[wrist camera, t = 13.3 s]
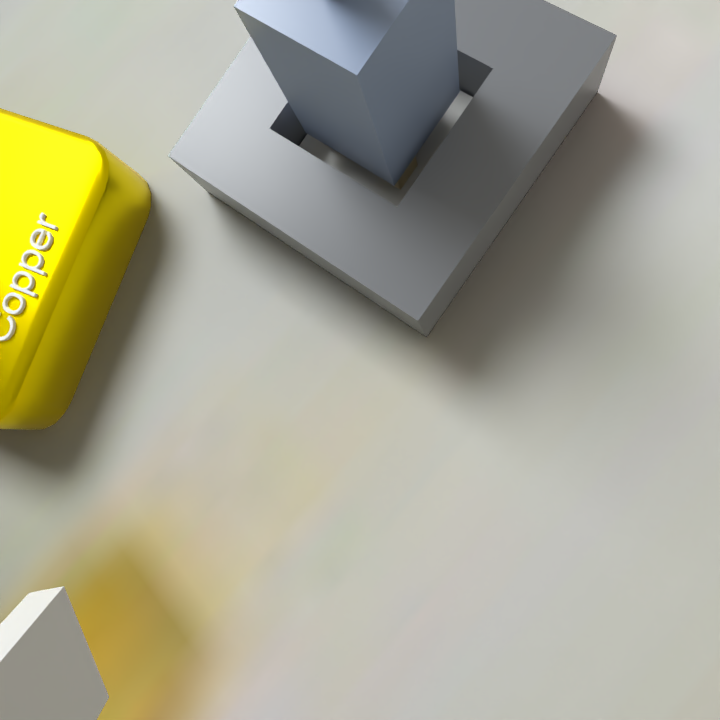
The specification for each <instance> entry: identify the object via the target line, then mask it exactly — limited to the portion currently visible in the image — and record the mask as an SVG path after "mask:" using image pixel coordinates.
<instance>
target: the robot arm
mask: <svg viewBox="0 0 720 720" xmlns="http://www.w3.org/2000/svg"><path fill="white" fill-rule="evenodd" d="M108 698H109V696H108V693H107V691H106V688H105V686H104V683H103V681H102V678H101V676H100V674H99V671H98V669H97V666H96V664H95V661H94V659H93V656H92V654H91V651H90V649H89V647H88V644H87V642H86V639H85V637H84V634H83V632H82V629H81V627H80V625H79V622H78V620H77V617H76V615H75V612H74V610H73V607H72V605H71V603H70V600H69V598H68V595H67V593H66V590H65V588H64V586H63V587H57V588H52V589H47V590H42V591H37V592H32V593H29V594H28V595H27V596H26V597H25V598H24V599H23V600H22V601H21V602H20V603H19V604H18V606H17V607H16V608H15V609H14V610H13V611H12V612H11V613H10V614H9V615H8V616H7V618H6V619H5V620H4V621H3V622H2V623H1V624H0V720H97V718H98V716H99V714H100V712H101V711H102V709H103V707H104V705H105V703H106V702H107V700H108Z"/></svg>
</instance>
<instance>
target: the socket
mask: <svg viewBox="0 0 720 720" xmlns="http://www.w3.org/2000/svg"><path fill="white" fill-rule="evenodd" d="M455 18H456V36H457V54H458V71H459V89H460V92H459V94H458V95H457V96H456V98H455V99H454V101H453V102H452V104H451V105H450V106H449V108H448V109H447V111H446V112H445V114H444V115H443V117H442V118H441V119H440V121H439V122H438V124H437V125H436V127H435V128H434V130H433V131H432V132H431V134H430V135H429V137H428V138H427V140H426V141H425V143H424V144H423V145H422V147H421V148H420V150H419V151H418V153H417V154H416V155H415V156H416V160H417V167H416V168H415V170H414V171H413V173H412V174H411V176H410V177H409V178H408V180H407V181H406V183H405V184H404V186H403V187H402V188H401V190H400V189H398V188H397V187H395V186H393V185H392V184H390V183H388V182H387V181H385V180H383V179H382V178H380V177H378V176H377V175H375V174H373V173H372V172H370V171H368V170H367V169H365V168H364V167H362V166H360V165H359V164H357V163H355V162H354V161H352V160H350V159H349V158H347V157H345V156H343V155H342V154H340V153H338V152H337V151H335V150H334V149H332V148H330V147H329V146H327V145H325V144H324V143H322V142H320V141H319V140H317V139H315V138H314V137H312V136H310V135H309V134H307V133H306V132H305V131H304V129H303V127H302V125H301V124H300V122H299V120H298V118H297V117H296V115H295V113H294V111H293V110H292V108H291V106H290V104H289V103H288V101H287V99H286V97H285V96H284V94H283V92H282V90H281V89H280V87H279V85H278V83H277V81H276V80H275V78H274V76H273V74H272V73H271V71H270V69H269V67H268V66H267V64H266V62H265V60H264V59H263V57H262V55H261V53H260V52H259V50H258V48H257V46H256V45H255V43H254V41H253V39H252V38H251V36H250V37H249V39H248V40H247V42H246V43H245V45H244V46H243V47H242V49H241V50H240V52H239V53H238V55H237V56H236V58H235V59H234V61H233V62H232V63H231V65H230V66H229V68H228V69H227V71H226V72H225V74H224V75H223V76H222V78H221V79H220V81H219V82H218V84H217V85H216V87H215V88H214V89H213V91H212V92H211V94H210V95H209V97H208V98H207V100H206V101H205V103H204V104H203V105H202V107H201V108H200V110H199V111H198V113H197V114H196V116H195V117H194V118H193V120H192V121H191V123H190V124H189V126H188V127H187V129H186V130H185V132H184V133H183V134H182V136H181V137H180V139H179V140H178V142H177V143H176V145H175V146H174V147H173V149H172V150H171V152H170V153H169V155H168V156H169V157H170V158H171V159H172V160H173V161H174V162H175V163H176V164H178V165H179V166H180V167H181V168H182V169H183V170H184V171H185V172H186V173H188V174H189V175H190V176H191V177H192V178H193V179H194V180H195V181H196V182H197V183H199V184H200V185H201V186H202V187H203V188H204V189H205V190H206V191H208V192H209V193H211V194H212V195H214V196H215V197H217V198H218V199H220V200H221V201H223V202H224V203H226V204H227V205H229V206H230V207H232V208H233V209H235V210H236V211H238V212H239V213H241V214H242V215H244V216H245V217H247V218H248V219H250V220H251V221H253V222H254V223H256V224H257V225H259V226H260V227H262V228H263V229H265V230H266V231H268V232H269V233H271V234H272V235H274V236H275V237H277V238H278V239H280V240H281V241H283V242H284V243H286V244H287V245H289V246H290V247H292V248H293V249H295V250H296V251H298V252H299V253H301V254H302V255H304V256H305V257H307V258H308V259H310V260H311V261H313V262H314V263H316V264H317V265H319V266H320V267H322V268H323V269H325V270H326V271H328V272H329V273H331V274H332V275H334V276H335V277H337V278H338V279H340V280H341V281H343V282H344V283H346V284H347V285H349V286H350V287H352V288H353V289H355V290H356V291H358V292H359V293H361V294H362V295H364V296H365V297H367V298H368V299H370V300H371V301H373V302H374V303H376V304H377V305H379V306H381V307H382V308H384V309H385V310H387V311H388V312H390V313H391V314H393V315H394V316H396V317H397V318H399V319H400V320H402V321H403V322H405V323H406V324H408V325H409V326H411V327H412V328H414V329H415V330H417V331H418V332H420V333H421V334H423V335H424V336H426V337H427V336H428V334H429V333H430V331H431V330H432V329H433V327H434V326H435V324H436V323H437V321H438V320H439V318H440V317H441V316H442V314H443V313H444V311H445V310H446V308H447V307H448V306H449V304H450V303H451V301H452V300H453V298H454V297H455V295H456V294H457V293H458V291H459V290H460V288H461V287H462V285H463V284H464V283H465V281H466V280H467V278H468V277H469V275H470V274H471V272H472V271H473V270H474V268H475V267H476V265H477V264H478V262H479V261H480V260H481V258H482V257H483V255H484V254H485V252H486V251H487V250H488V248H489V247H490V245H491V244H492V242H493V241H494V239H495V238H496V237H497V235H498V234H499V232H500V231H501V229H502V228H503V227H504V225H505V224H506V222H507V221H508V219H509V218H510V216H511V215H512V214H513V212H514V211H515V209H516V208H517V206H518V205H519V204H520V202H521V201H522V199H523V198H524V196H525V195H526V194H527V192H528V191H529V189H530V188H531V186H532V185H533V183H534V182H535V181H536V179H537V178H538V176H539V175H540V173H541V172H542V171H543V169H544V168H545V166H546V165H547V163H548V162H549V160H550V159H551V158H552V156H553V155H554V153H555V152H556V150H557V149H558V148H559V146H560V145H561V143H562V142H563V140H564V139H565V137H566V136H567V135H568V133H569V132H570V130H571V129H572V127H573V126H574V125H575V123H576V122H577V120H578V119H579V117H580V116H581V115H582V113H583V112H584V110H585V109H586V107H587V106H588V104H589V103H590V102H591V100H592V99H593V97H594V96H595V94H596V93H597V92H598V89H599V86H600V83H601V80H602V77H603V74H604V71H605V68H606V65H607V63H608V60H609V57H610V54H611V51H612V48H613V45H614V42H615V39H616V36H617V35H615V34H613V33H611V32H609V31H607V30H605V29H603V28H600V27H598V26H596V25H594V24H592V23H590V22H588V21H586V20H584V19H582V18H580V17H578V16H575V15H573V14H571V13H569V12H567V11H565V10H563V9H561V8H559V7H557V6H555V5H553V4H550V3H548V2H546V1H544V0H455Z"/></svg>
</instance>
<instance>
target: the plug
mask: <svg viewBox="0 0 720 720" xmlns="http://www.w3.org/2000/svg"><path fill="white" fill-rule="evenodd" d="M234 8H235V9H236V11H237V13H238V15H239V16H240V18H241V20H242V22H243V23H244V25H245V27H246V29H247V31H248V32H249V34H250V36H251V38H252V39H253V41H254V43H255V45H256V46H257V48H258V50H259V52H260V53H261V55H262V57H263V59H264V60H265V62H266V64H267V66H268V67H269V69H270V71H271V73H272V74H273V76H274V78H275V80H276V81H277V83H278V85H279V87H280V89H281V90H282V92H283V94H284V96H285V97H286V99H287V101H288V103H289V104H290V106H291V108H292V110H293V111H294V113H295V115H296V117H297V118H298V120H299V122H300V124H301V125H302V127H303V129H304V131H305V132H306V133H307V134H309V135H310V136H312V137H314V138H315V139H317V140H319V141H320V142H322V143H324V144H325V145H327V146H329V147H330V148H332V149H334V150H335V151H337V152H338V153H340V154H342V155H343V156H345V157H347V158H349V159H350V160H352V161H354V162H355V163H357V164H359V165H360V166H362V167H364V168H365V169H367V170H368V171H370V172H372V173H373V174H375V175H377V176H378V177H380V178H382V179H383V180H385V181H387V182H388V183H390V184H392V185H393V186H395V187H397V188H398V189H400V190H401V188H402V187H403V186H404V184H405V183H406V181H407V180H408V178H409V177H410V176H411V174H412V173H413V171H414V170H415V168H416V167H417V160H416V156H415V155H416V154H417V153H418V151H419V150H420V148H421V147H422V145H423V144H424V143H425V141H426V140H427V138H428V137H429V135H430V134H431V132H432V131H433V130H434V128H435V127H436V125H437V124H438V122H439V121H440V119H441V118H442V117H443V115H444V114H445V112H446V111H447V109H448V108H449V106H450V105H451V104H452V102H453V101H454V99H455V98H456V96H457V95H458V94H459V92H460V89H459V71H458V54H457V36H456V18H455V0H238V1H237V2H236V4H235V5H234Z"/></svg>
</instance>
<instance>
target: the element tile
mask: <svg viewBox="0 0 720 720" xmlns="http://www.w3.org/2000/svg"><path fill="white" fill-rule="evenodd" d="M150 208H151V192H150V189H149V186H148V184H147V182H146V181H145V180H144V179H143V178H142V177H141V176H140V175H139V174H138V173H137V172H136V171H134V170H133V169H132V168H130V167H129V166H128V165H127V164H125V163H124V162H123V161H121V160H120V159H119V158H118V157H116V156H115V155H114V154H112V153H111V152H110V151H109V150H107V149H106V148H105V147H103V146H102V145H101V144H100V143H98V142H97V141H95V140H93V139H91V138H90V137H87V136H84V135H81V134H78V133H75V132H71V131H68V130H65V129H62V128H59V127H56V126H53V125H50V124H47V123H44V122H41V121H38V120H35V119H31V118H28V117H25V116H22V115H19V114H16V113H13V112H10V111H7V110H4V109H1V108H0V429H28V430H32V429H45V428H47V427H49V426H51V425H53V424H55V423H56V422H57V421H58V420H59V419H60V418H61V417H62V416H63V414H64V413H65V412H66V410H67V408H68V406H69V405H70V403H71V401H72V398H73V396H74V393H75V391H76V389H77V386H78V384H79V381H80V379H81V377H82V374H83V372H84V369H85V367H86V365H87V362H88V360H89V358H90V355H91V353H92V350H93V348H94V346H95V343H96V341H97V338H98V336H99V334H100V331H101V329H102V326H103V324H104V322H105V319H106V317H107V314H108V312H109V310H110V307H111V305H112V302H113V300H114V298H115V295H116V293H117V291H118V288H119V286H120V283H121V281H122V279H123V276H124V274H125V271H126V269H127V267H128V264H129V262H130V259H131V257H132V255H133V252H134V250H135V247H136V245H137V243H138V240H139V238H140V235H141V233H142V231H143V228H144V226H145V223H146V221H147V219H148V216H149V212H150Z"/></svg>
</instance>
